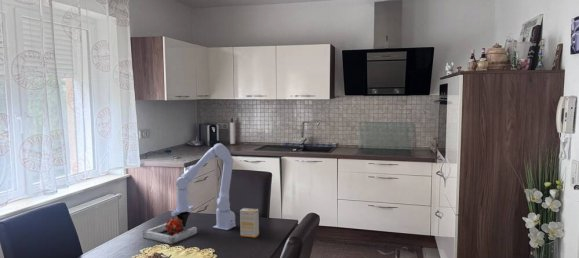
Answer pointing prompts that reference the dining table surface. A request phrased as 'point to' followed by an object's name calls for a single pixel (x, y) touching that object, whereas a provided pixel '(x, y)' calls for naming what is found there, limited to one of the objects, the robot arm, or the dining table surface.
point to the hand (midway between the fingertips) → (183, 226)
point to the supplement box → (249, 222)
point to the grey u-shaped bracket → (156, 235)
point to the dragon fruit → (174, 226)
